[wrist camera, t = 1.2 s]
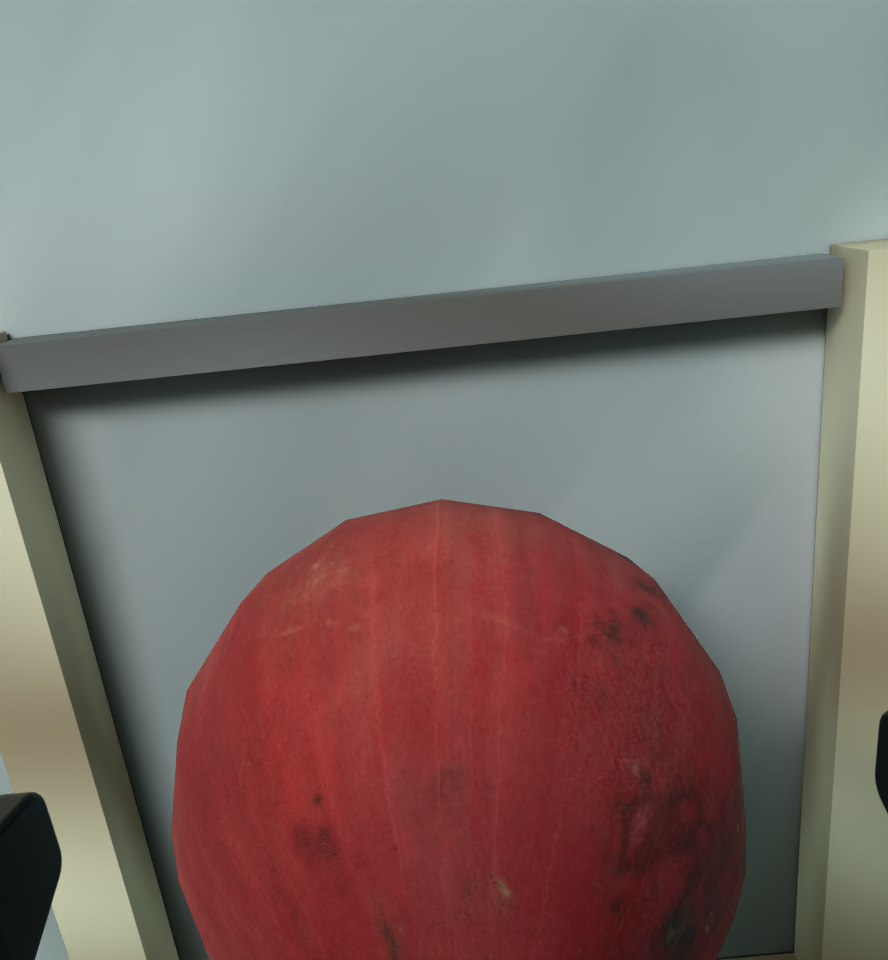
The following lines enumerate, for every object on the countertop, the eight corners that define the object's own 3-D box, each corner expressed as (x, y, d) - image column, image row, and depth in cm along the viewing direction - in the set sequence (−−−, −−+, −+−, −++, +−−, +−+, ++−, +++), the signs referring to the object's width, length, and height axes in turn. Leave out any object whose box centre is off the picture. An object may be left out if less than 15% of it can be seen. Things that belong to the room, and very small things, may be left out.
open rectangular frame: (851, 1065, 16) (1028, 1436, 11) (161, 1125, 16) (51, 1515, 11) (924, 235, 11) (1305, 276, 6) (-84, 340, 11) (-465, 460, 6)
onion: (616, 382, 11) (980, 772, 4) (665, 730, 13) (972, 1443, 6) (204, 467, 12) (-197, 980, 4) (310, 796, 14) (163, 1554, 6)
